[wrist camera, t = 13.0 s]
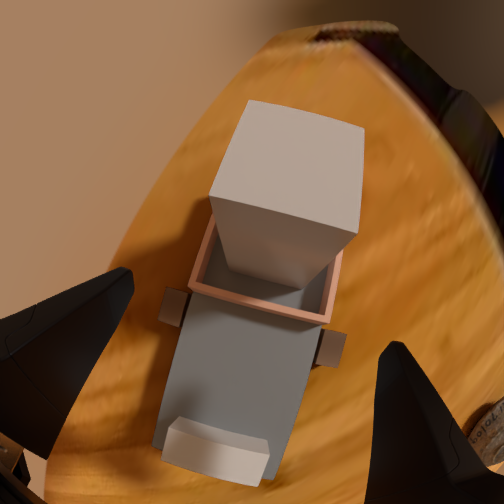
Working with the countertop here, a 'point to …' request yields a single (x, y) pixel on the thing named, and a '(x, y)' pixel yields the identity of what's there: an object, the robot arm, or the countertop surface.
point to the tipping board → (240, 367)
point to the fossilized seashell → (490, 435)
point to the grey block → (288, 193)
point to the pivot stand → (179, 302)
